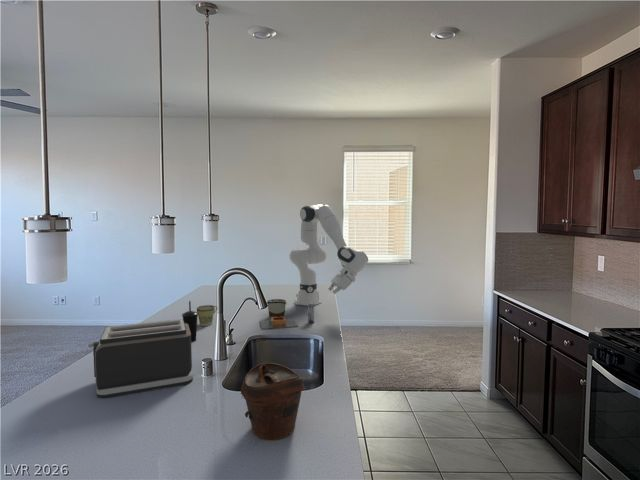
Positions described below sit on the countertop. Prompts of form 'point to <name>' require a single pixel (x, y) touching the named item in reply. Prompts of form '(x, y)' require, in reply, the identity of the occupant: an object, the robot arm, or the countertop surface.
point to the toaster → (142, 358)
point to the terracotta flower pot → (272, 399)
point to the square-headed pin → (311, 312)
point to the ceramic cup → (206, 314)
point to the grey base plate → (278, 323)
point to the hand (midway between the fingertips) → (331, 291)
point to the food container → (276, 307)
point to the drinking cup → (191, 321)
